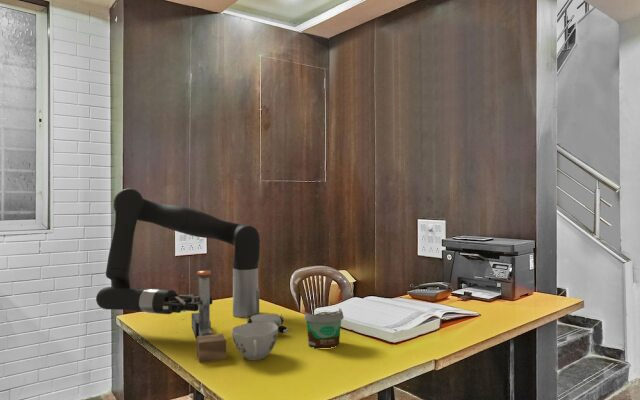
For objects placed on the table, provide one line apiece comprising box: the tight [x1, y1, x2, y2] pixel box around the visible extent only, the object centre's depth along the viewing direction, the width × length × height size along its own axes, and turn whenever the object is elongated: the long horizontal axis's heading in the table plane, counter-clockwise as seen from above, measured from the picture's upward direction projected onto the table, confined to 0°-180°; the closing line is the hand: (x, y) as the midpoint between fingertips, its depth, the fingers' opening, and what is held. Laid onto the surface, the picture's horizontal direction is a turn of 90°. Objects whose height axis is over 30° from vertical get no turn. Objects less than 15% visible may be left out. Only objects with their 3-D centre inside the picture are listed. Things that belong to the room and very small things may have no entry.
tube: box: [196, 269, 213, 336], centre depth 144 cm, size 22×4×20 cm, turn 21°
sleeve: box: [191, 312, 212, 339], centre depth 149 cm, size 13×5×5 cm, turn 21°
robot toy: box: [245, 313, 290, 334], centre depth 148 cm, size 12×4×15 cm
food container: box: [303, 308, 344, 349], centre depth 134 cm, size 12×6×10 cm, turn 117°
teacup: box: [231, 322, 279, 361], centre depth 124 cm, size 15×12×8 cm
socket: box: [196, 333, 227, 364], centre depth 125 cm, size 6×7×5 cm
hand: (205, 304), depth 140 cm, fingers open, 8 cm apart
